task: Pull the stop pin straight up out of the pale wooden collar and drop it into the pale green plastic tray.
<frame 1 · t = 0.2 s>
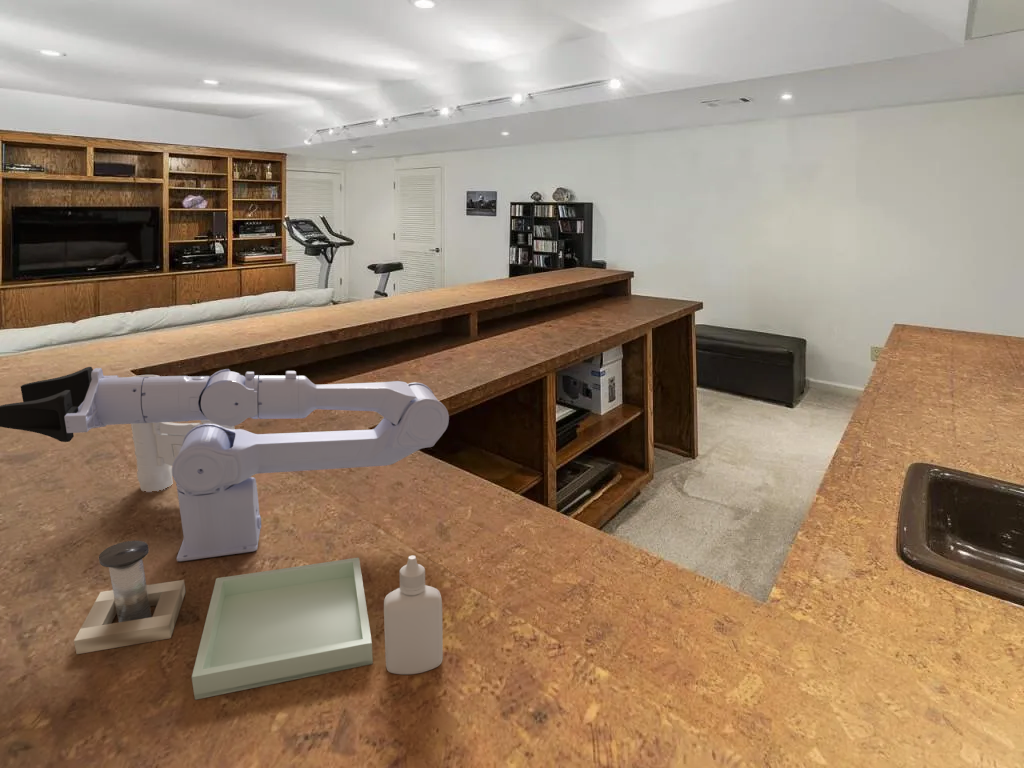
hand: (9, 404, 68), 21 cm above the countertop, tool horizontal, fingers open, 7 cm apart
stop pin: (129, 586, 64), in the pin collar
tray: (289, 627, 64), on the countertop
binoculars: (191, 489, 96), on the countertop
pin collar: (135, 620, 65), on the countertop
eye dropper bottle: (414, 664, 60), on the countertop
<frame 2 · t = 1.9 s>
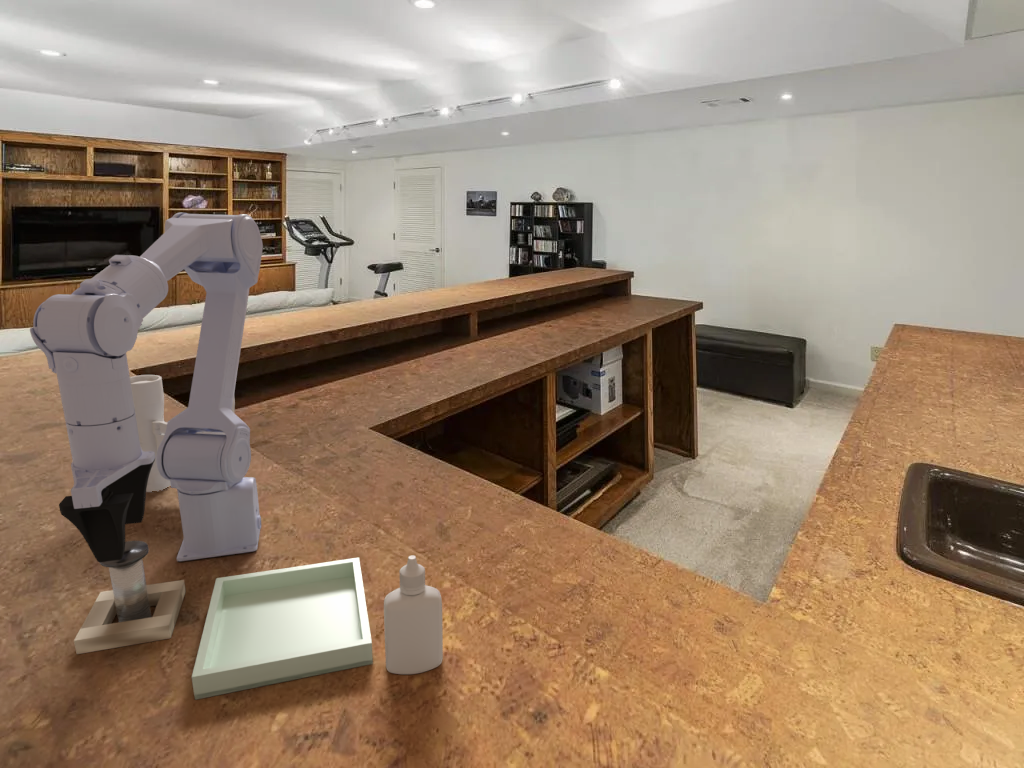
hand: (121, 539, 62), 10 cm above the countertop, tool pointing down, fingers open, 7 cm apart
nothing on the countertop moved.
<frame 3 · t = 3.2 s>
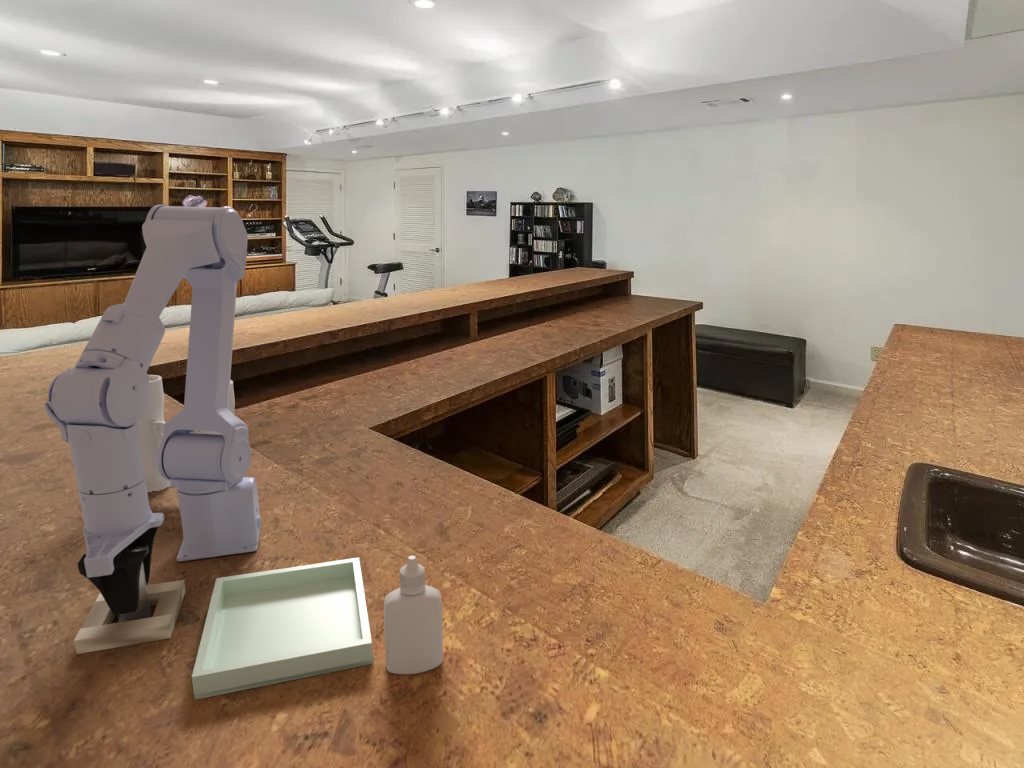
hand: (131, 598, 64), 3 cm above the countertop, tool pointing down, fingers closed on stop pin, 4 cm apart
stop pin: (129, 586, 64), in the pin collar, touching gripper
everything else where it was.
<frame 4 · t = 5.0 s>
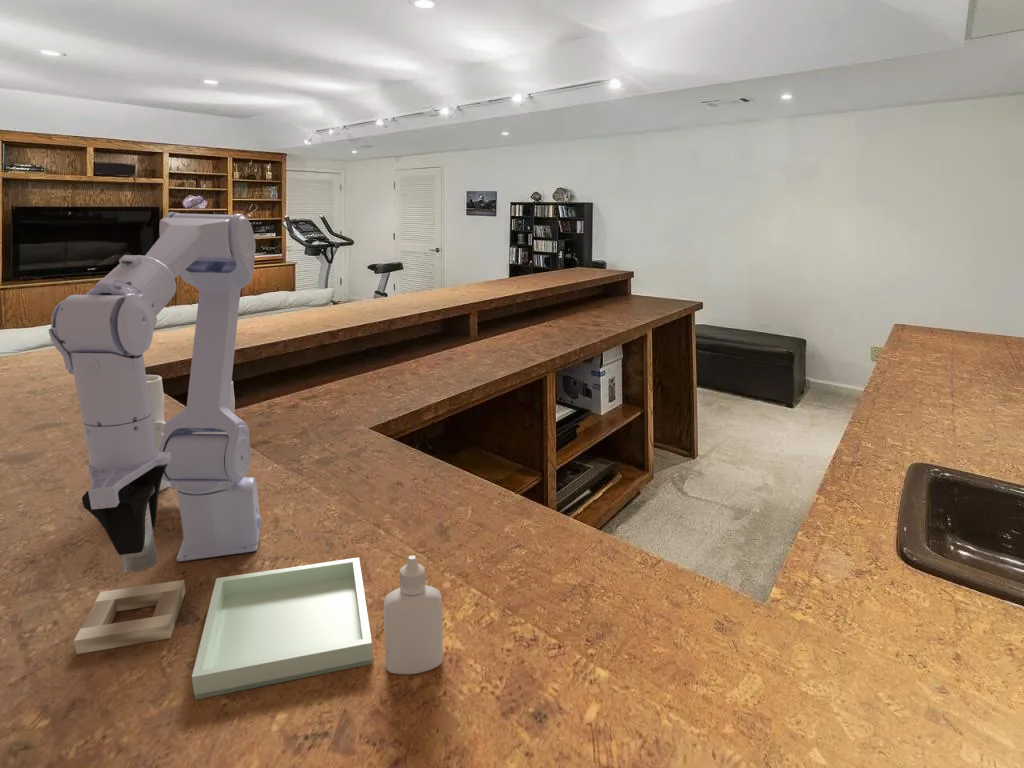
hand: (137, 540, 62), 10 cm above the countertop, tool pointing down, fingers closed on stop pin, 4 cm apart
stop pin: (135, 528, 62), point 11 cm above the countertop, touching gripper
everything else where it was.
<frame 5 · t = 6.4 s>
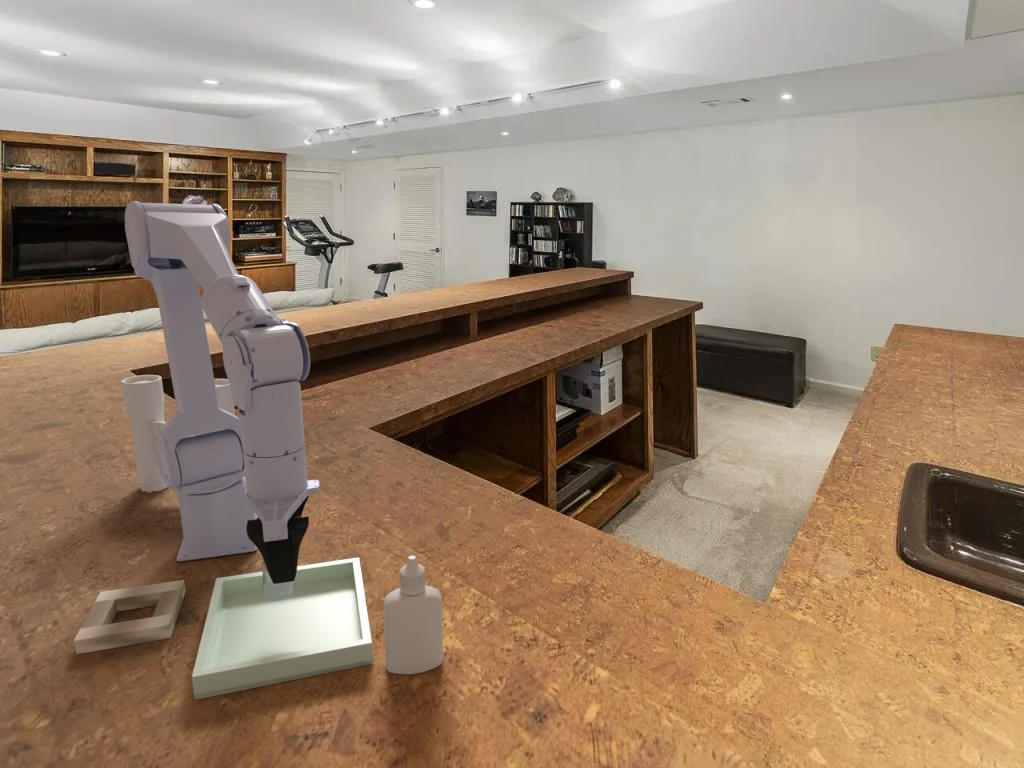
hand: (284, 568, 62), 7 cm above the countertop, tool pointing down, fingers closed on stop pin, 4 cm apart
stop pin: (278, 556, 62), point 9 cm above the countertop, tilted 5°, touching gripper
everything else where it was.
when the fingers open (5 cm above the countertop, at t = 7.2 s): stop pin drops 2 cm, resting on tray.
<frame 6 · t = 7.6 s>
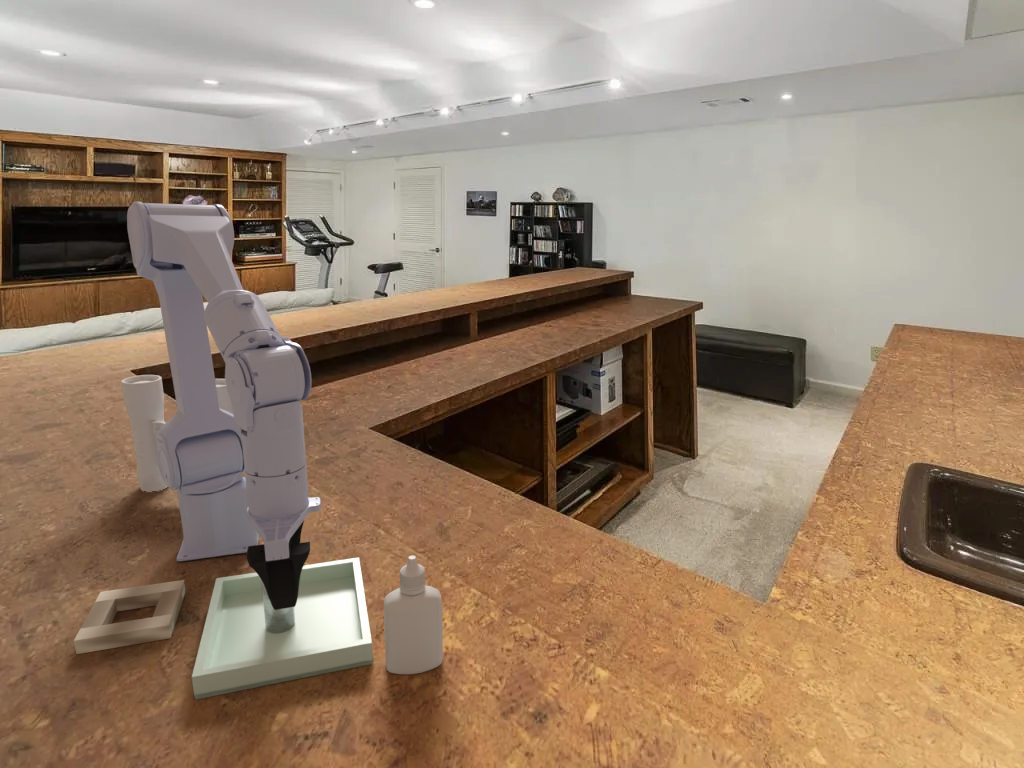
hand: (286, 584, 63), 5 cm above the countertop, tool pointing down, fingers open, 7 cm apart
stop pin: (277, 590, 63), in the tray
everything else where it was.
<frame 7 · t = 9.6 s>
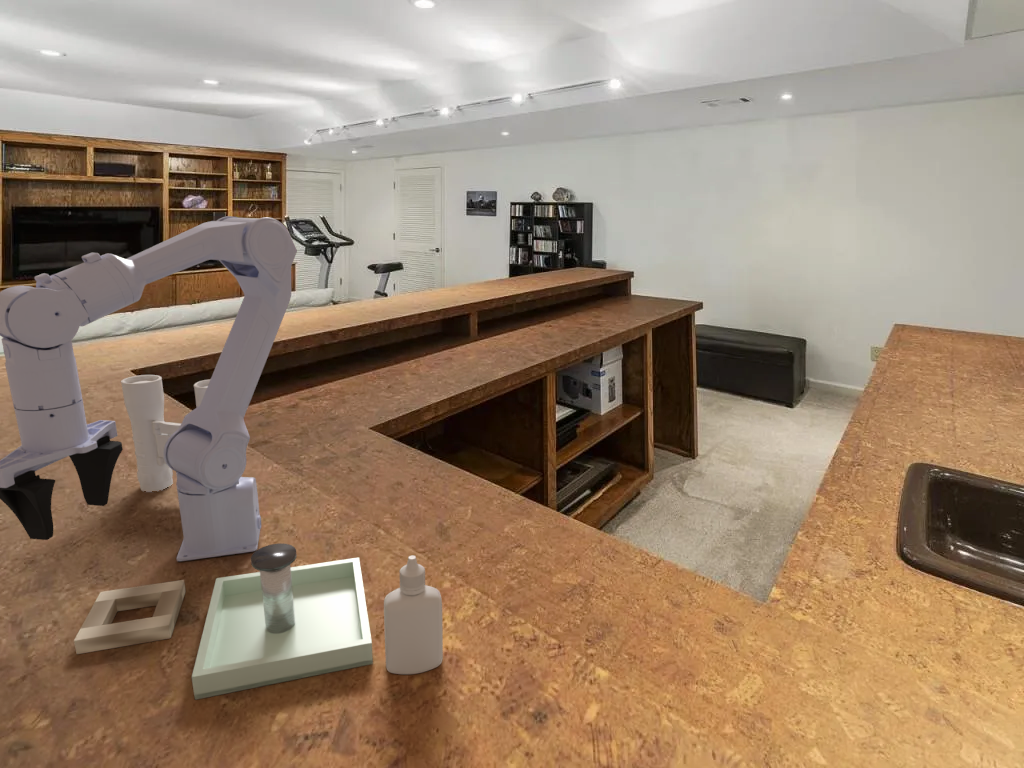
hand: (71, 520, 66), 10 cm above the countertop, tool pointing down, fingers open, 7 cm apart
nothing on the countertop moved.
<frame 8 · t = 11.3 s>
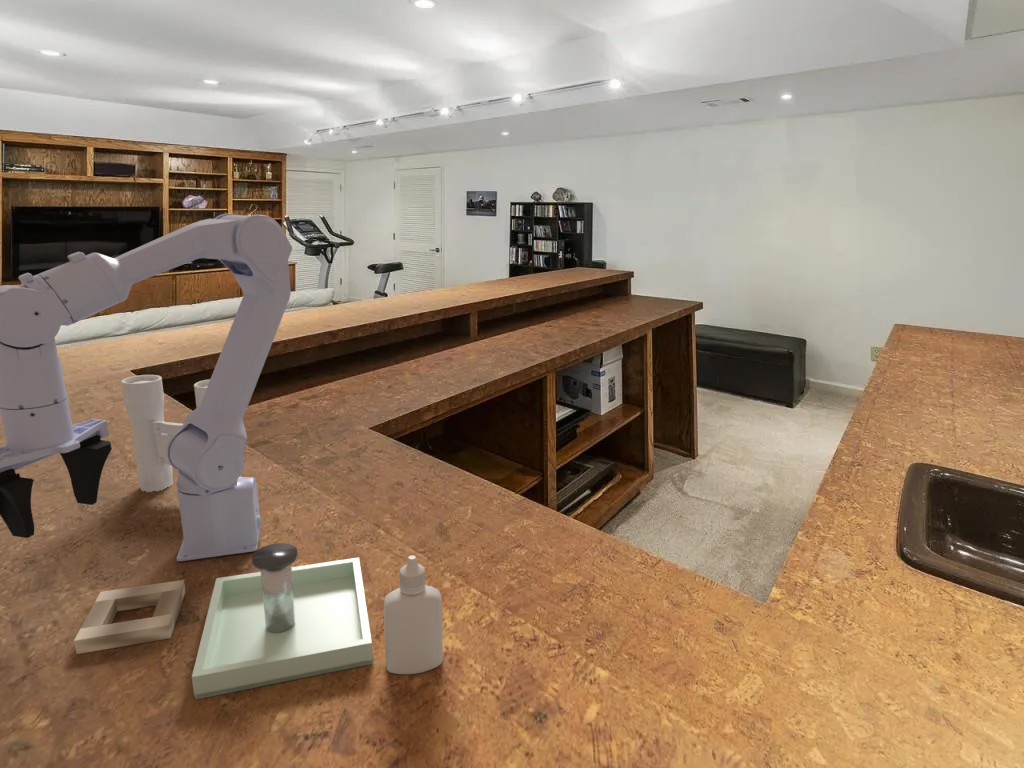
hand: (56, 518, 66), 10 cm above the countertop, tool pointing down, fingers open, 7 cm apart
nothing on the countertop moved.
at the end: stop pin inside the target area on the tray (0.9 cm from its centre), point 4.8 cm above the tray's base; the gripper is holding nothing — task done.
